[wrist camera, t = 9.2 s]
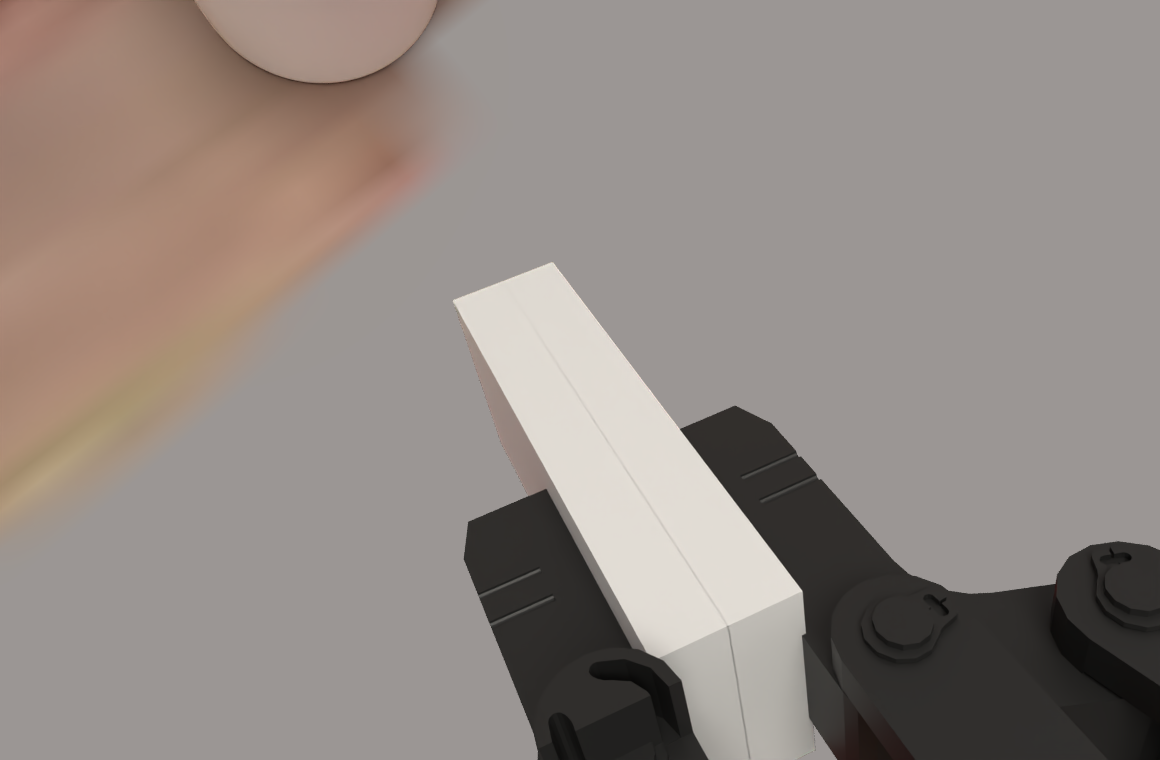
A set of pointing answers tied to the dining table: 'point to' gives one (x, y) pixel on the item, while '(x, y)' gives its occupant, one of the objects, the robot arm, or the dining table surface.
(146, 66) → the dining table surface
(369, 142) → the dining table surface
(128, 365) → the dining table surface
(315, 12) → the candle holder
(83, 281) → the dining table surface
